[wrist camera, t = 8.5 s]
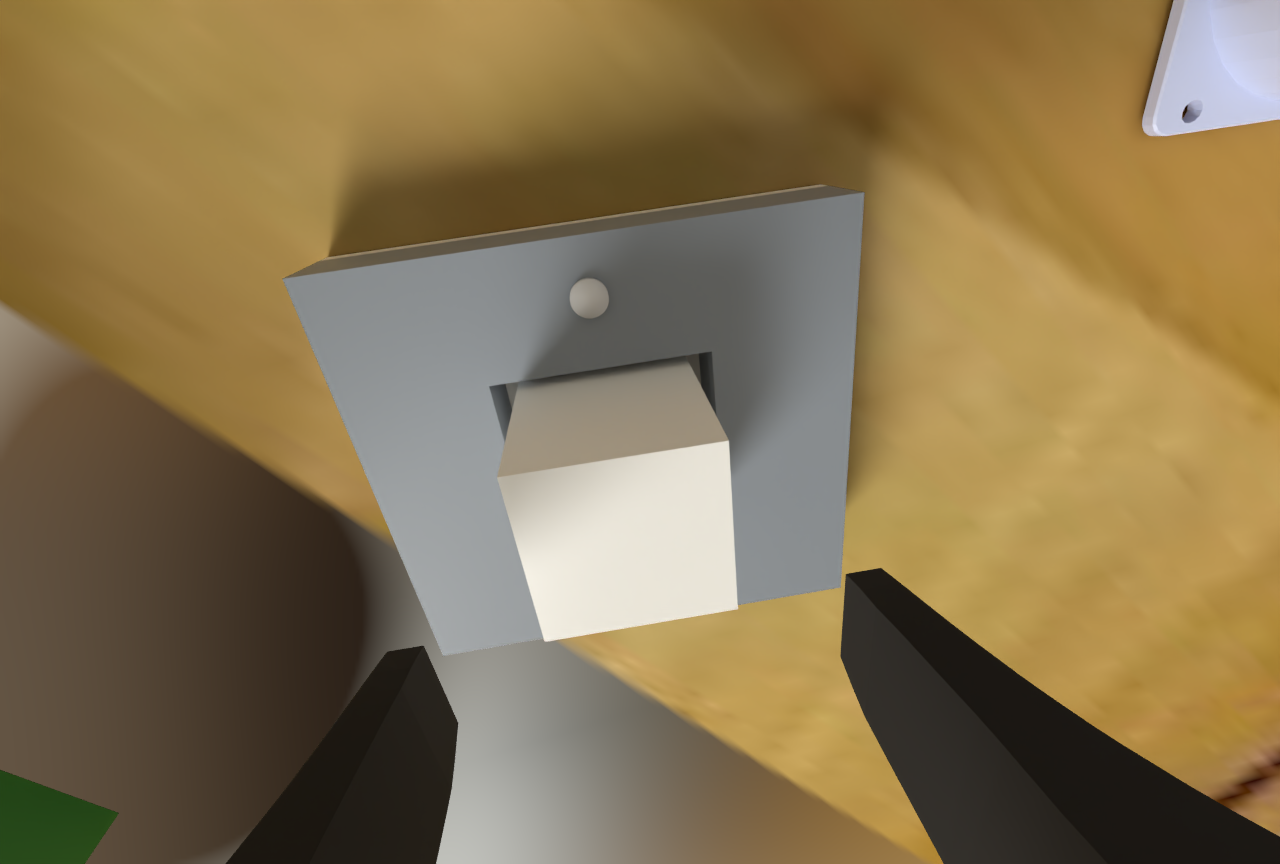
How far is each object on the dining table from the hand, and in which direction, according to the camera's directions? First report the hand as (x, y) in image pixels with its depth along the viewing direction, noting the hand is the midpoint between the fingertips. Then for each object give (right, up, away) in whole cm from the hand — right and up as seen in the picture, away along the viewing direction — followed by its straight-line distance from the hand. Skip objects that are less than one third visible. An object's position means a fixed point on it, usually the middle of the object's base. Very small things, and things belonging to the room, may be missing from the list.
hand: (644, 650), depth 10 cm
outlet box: (-1, +4, +8) cm, 9 cm away
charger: (-1, +4, +7) cm, 8 cm away
